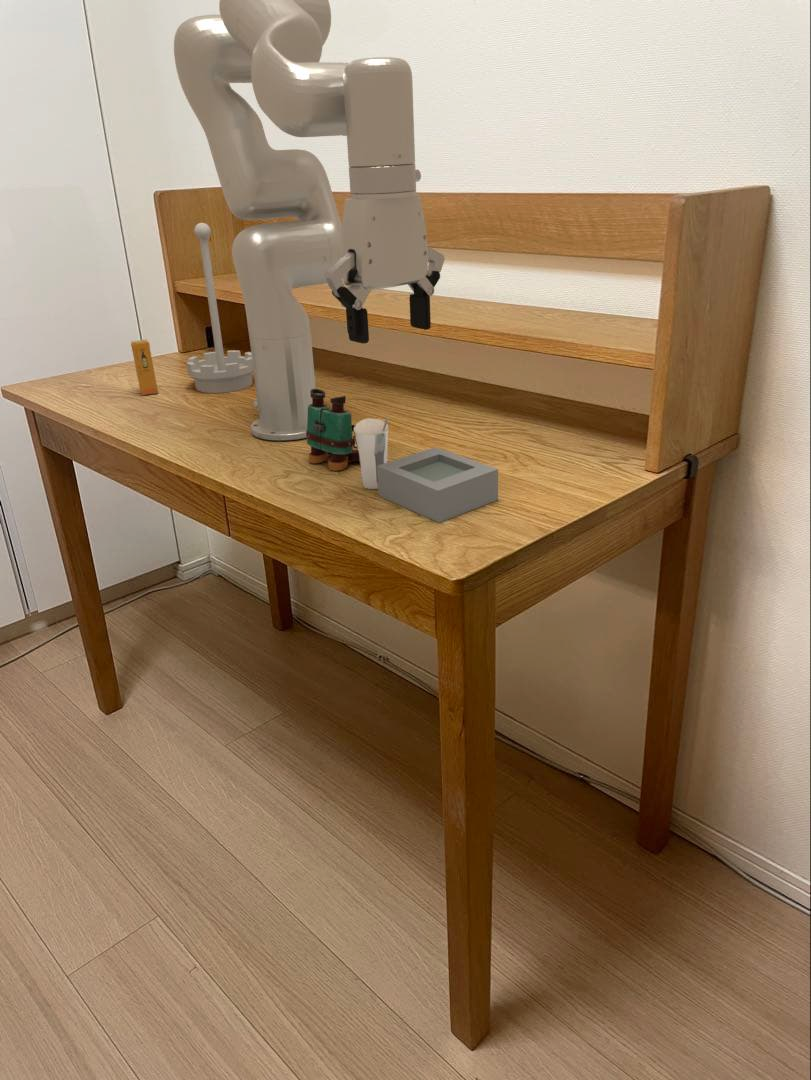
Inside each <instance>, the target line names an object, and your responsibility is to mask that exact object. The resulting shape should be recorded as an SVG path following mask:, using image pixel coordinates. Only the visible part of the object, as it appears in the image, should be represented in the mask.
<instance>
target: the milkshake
mask: <svg viewBox="0 0 811 1080" xmlns="http://www.w3.org/2000/svg"><path fill="white" fill-rule="evenodd" d="M388 421H389V417H386V418H385V420H382V419H380V418H370V417H369V418H368V417H367V418H364V419H361V420H359V421H358V422H357V423H356V424H354V425H355V427H354V432H353V433H354V435H355V445H356V447H357V448H356V450H358V456H359V461H358V462H359V469H360V475H361V481H362V485H363V488H365V489H367V490H378V475H377V466H378V465H381V464H384V463H387V462H388V446H389V445H388V442H389V425H388Z"/></svg>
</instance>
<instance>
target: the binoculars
mask: <svg viewBox="0 0 811 1080" xmlns="http://www.w3.org/2000/svg"><path fill="white" fill-rule="evenodd" d="M310 393H311V398H312V404H310V405H308V419H307V431H306V437H307V438H306V443H307V445H308V446H309V447H310V452H309V453H308V462H309V463H310V464H320V463H323V462H325V461H326V460H327V459H328V458H329V456H330V457H331V458H330V459H328V469H329V470H330V471H334V472H335V471H342V470H344V469H346V468H347V467H348V464H349V463H350V462H359V456H358V450H357V446H355V445H356V439H355V434H354V435H353V433H354V427H355V425H356V424H352V413H351V411H349V410H344V409H345V408H344V407H345V406H344V405H345V404H346V397H347V396H346V395H344V396H338V397H337V396H336V397H332V398H330V401H329V402H330V403H331V408H330V406H328V405H326V404H324V400H325V398H326V392H325V391H324V390H322V389H319V388H316V389H312V390H311V391H310ZM353 448H354V449H353Z"/></svg>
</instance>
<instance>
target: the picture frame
mask: <svg viewBox="0 0 811 1080" xmlns="http://www.w3.org/2000/svg"><path fill="white" fill-rule="evenodd" d="M377 475H378V489H377V491H378V497H380V498H383V499H385V500H387V501H390V502H391V503H394V504H396V505H399V506H400V507H403V508H404V509H407V510H409V511H411V512H414V513H416V514H418V515H420V516H422V517H424V518H427V519H429V520H432V521H434V522H436V523H438V524H439V523H442V522H445V521H448V520H450V519H453V518H455V517H458V516H461V515H463V514H465V513H468V512H471V511H473V510H476V509H479V508H481V507H483V506H486V505H489V504H491V503H493V502H496V501H499V469H498V468H496V467H493V466H491V465H487V464H485V463H482V462H479V461H476V460H474V459H470V458H468V457H465V456H462V455H459V454H457V453H453V452H450V451H449V450H445V449H441V448H440V447H437V446H434V447H430V448H429V449H426V450H421V451H419V452H415V453H413V454H410V455H406V456H404V457H400V458H398V459H394V460H391V461H387V463H384V464H381V465H378V466H377Z"/></svg>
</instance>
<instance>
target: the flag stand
mask: <svg viewBox="0 0 811 1080" xmlns="http://www.w3.org/2000/svg"><path fill="white" fill-rule="evenodd" d="M193 233H194V235H195V237H196V238H197V239H199V245H200V252H201V258H202V267H203V274H204V281H205V289H206V293H207V294H206V297H207V302H208V309H209V315H210V322H211V323H210V324H211V330H212V336H213V345H214V351H209V352H204V353H203V359H199V356H195V355H194V356H191V357H189V358H187V359H186V360H187V362H186V369H187V373H188V376H190V377H191V378H192V379H194V383H195V389H196V390H197V391H199V392H201V393H209V394H221V393H222V394H223V393H231V392H236V391H241V390H244V389H247V388H249V387H251V386H252V385H253V375H252V374H253V373H254V370H253V362H252V354H251V351H246V352H244V356H241V355H242V354H241V350H234V349H233V350H232V349H231V350H227V352H226V353H227V356H225V353H224V346H223V339H222V333H221V325H220V323H221V322H220V317H219V310H218V302H217V295H216V287H215V280H214V274H213V273H214V272H213V267H212V259H211V258H212V257H211V252H210V246H209V245H210V244H209V238H210V236H211V233H212V231H211V228H210V226H209V225H208V224H207V223H205V222H199V223H197V224H196V225H195V227H194V229H193Z"/></svg>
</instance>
